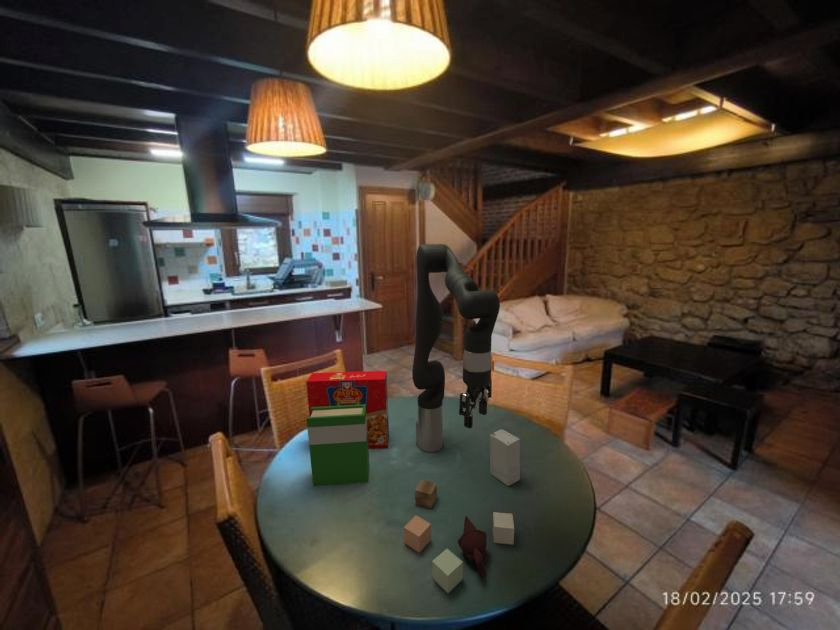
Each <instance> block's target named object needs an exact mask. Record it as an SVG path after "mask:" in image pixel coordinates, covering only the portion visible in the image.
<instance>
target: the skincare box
mask: <svg viewBox="0 0 840 630" xmlns="http://www.w3.org/2000/svg"><path fill="white" fill-rule="evenodd" d="M520 441H521V439H520V438H519V437H517V436H516V435H514V434H511V433H510V432H508V431H506V430H504V429H502V428H501V429H499V430H496V431H495V432H492V433H491V434H489V455H490V456H489V461H490V462H489V463H490V464H489V467H490V474H491V475H492V476H493V477H495V478H496V479H497V480H499V481H500V482H502V484H504V485H505V486H507V487H509V486H510V485H513V484H515V483H517V482H519V481H520V479H521V452H520V451H521V448H520V447H521V442H520Z"/></svg>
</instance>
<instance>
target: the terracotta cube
mask: <svg viewBox="0 0 840 630" xmlns="http://www.w3.org/2000/svg"><path fill="white" fill-rule="evenodd" d="M403 536H404V537H403V539H404V540H403V541H404V544H405V545H407V546H408V547H410V548H411V549H413V550H414V551H416V552H417V553H419V554H420V553H421V552H422V551H423V550H424V549H425V547H426V546H427V545H428V544H429V543H430V542H431V540H432V523H430V522H428V521H426V520H425V519H424V518H422V517H419V516H418V515H414V517H412V519H410V521H408V522H407V523H406V524H405V526H404V527H403Z"/></svg>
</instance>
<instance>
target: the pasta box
mask: <svg viewBox="0 0 840 630" xmlns="http://www.w3.org/2000/svg"><path fill="white" fill-rule="evenodd" d="M305 382H306V392H307V404H308V413H309V414H308V415H309V417H311V407H326V406H343V405H360V404H366V414H367V432H368V449H369V450H379V449H382V450H384V449H386V450H387V449H389V441H390V427H389V422H390V421H389V406H388V405H389V401H388V399H389V398H388V380H387V370H367V371H365V370H364V371H363V370H361V371H335V372H333V371H332V372H331V371H330V372H311V374H310V375H309V377H308V378H307V380H306V381H305Z"/></svg>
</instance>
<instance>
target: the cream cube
mask: <svg viewBox="0 0 840 630" xmlns="http://www.w3.org/2000/svg"><path fill="white" fill-rule="evenodd" d="M492 534H493V535H492V537H493V538H492V539H493V544H504V545H514V543H515V542H514V541H515V540H514V539H515V524H514V517H513V513H509V512H508V513H507V512H498V511H497V512H496V511H495V512H494V511H493V512H492Z"/></svg>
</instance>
